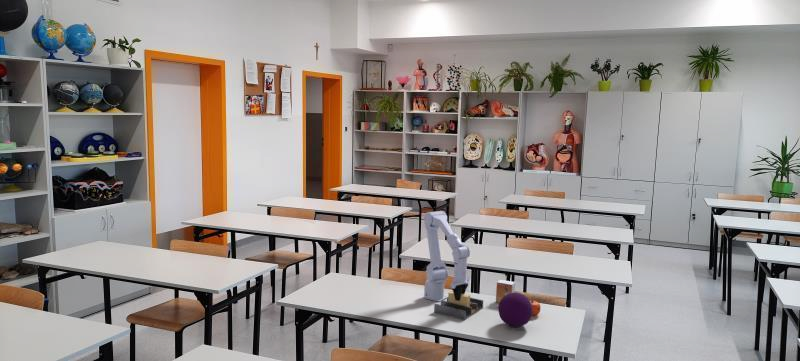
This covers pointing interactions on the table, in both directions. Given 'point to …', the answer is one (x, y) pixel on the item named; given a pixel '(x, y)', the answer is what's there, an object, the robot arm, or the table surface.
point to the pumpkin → (535, 307)
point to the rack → (458, 308)
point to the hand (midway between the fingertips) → (459, 299)
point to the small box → (504, 289)
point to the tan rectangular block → (463, 299)
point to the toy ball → (515, 309)
